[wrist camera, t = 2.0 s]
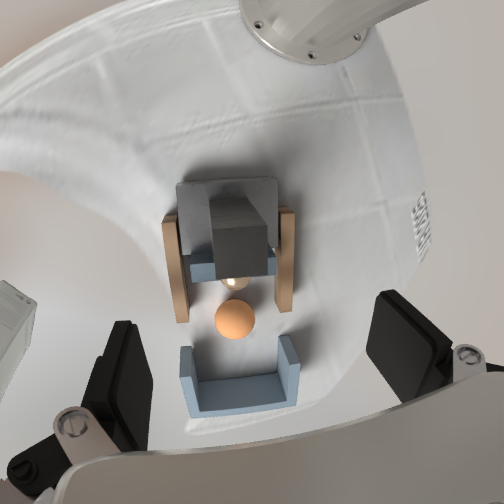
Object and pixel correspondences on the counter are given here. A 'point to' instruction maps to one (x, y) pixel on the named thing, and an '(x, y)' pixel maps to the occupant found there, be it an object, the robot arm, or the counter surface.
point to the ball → (234, 319)
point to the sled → (229, 228)
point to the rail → (282, 253)
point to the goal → (241, 387)
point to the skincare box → (13, 330)
